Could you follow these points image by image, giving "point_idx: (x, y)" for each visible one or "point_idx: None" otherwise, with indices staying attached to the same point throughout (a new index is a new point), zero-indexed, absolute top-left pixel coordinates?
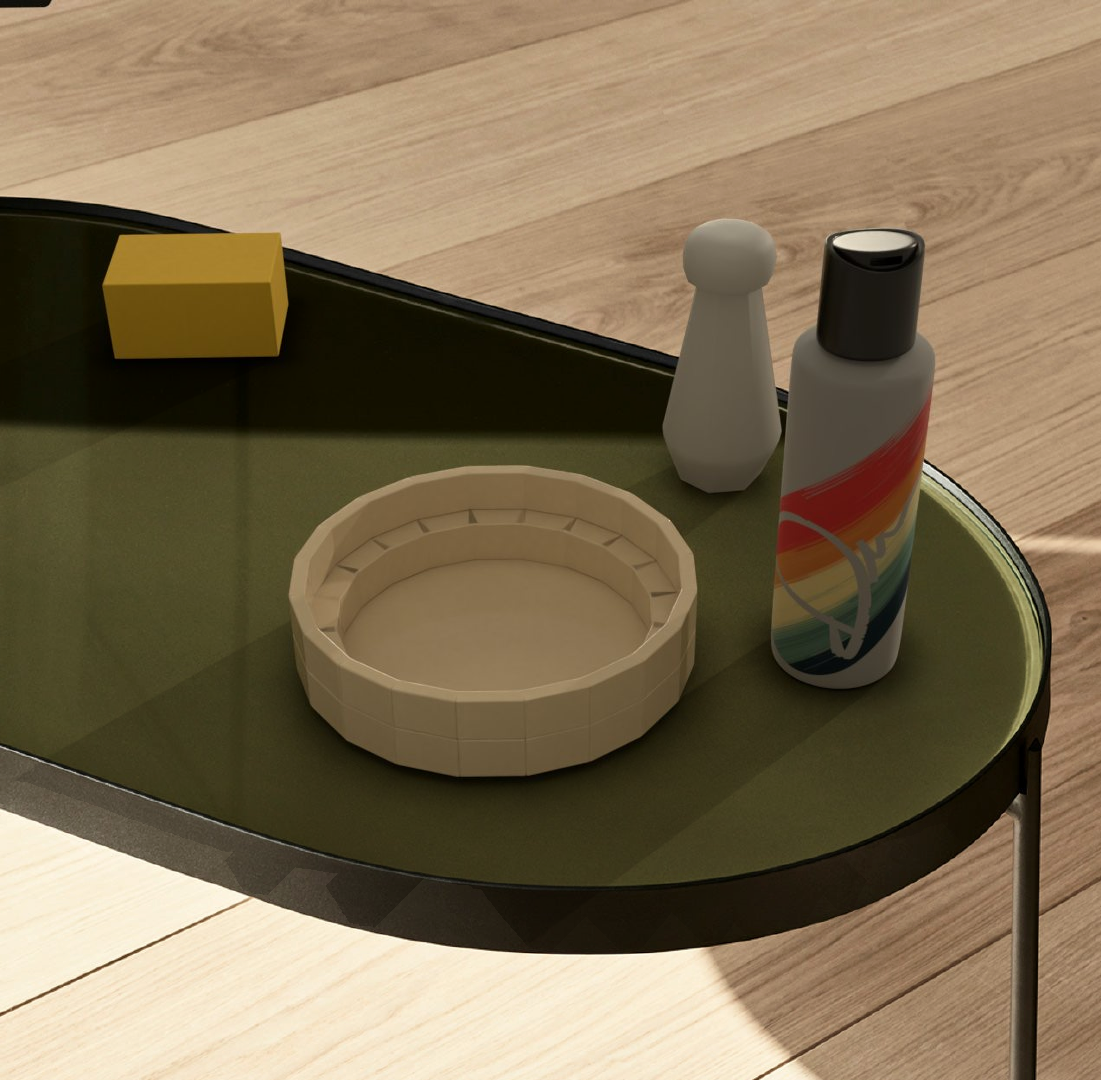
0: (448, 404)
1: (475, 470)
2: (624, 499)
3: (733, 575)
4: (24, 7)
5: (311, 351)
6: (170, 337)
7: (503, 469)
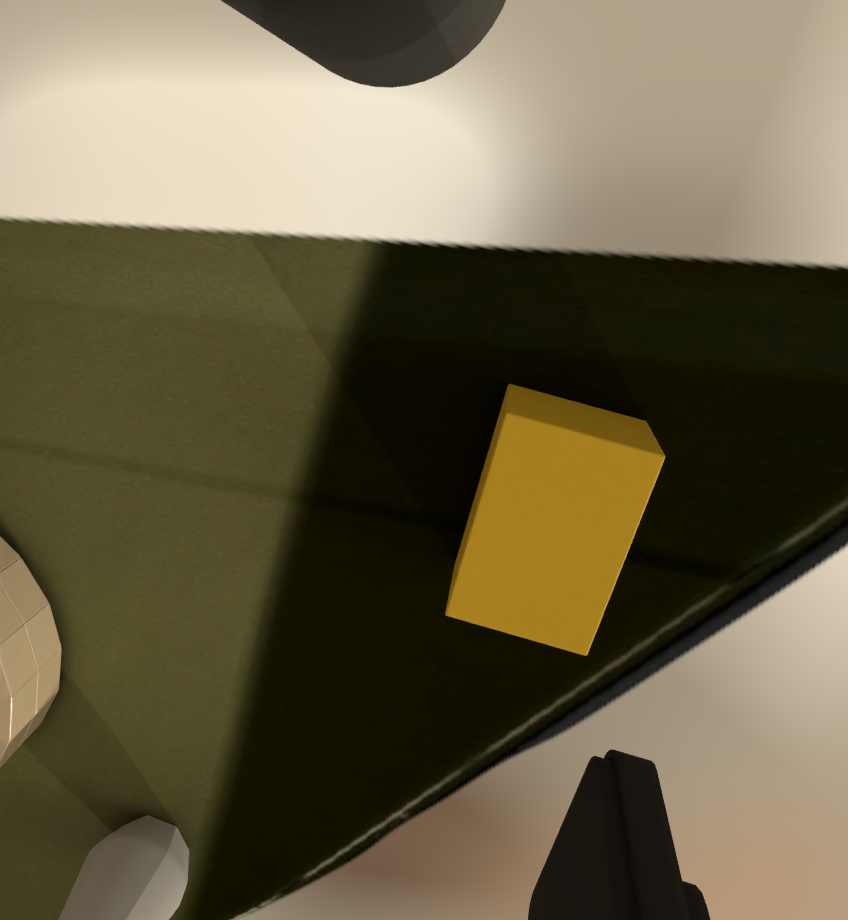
0: (311, 691)
1: (4, 701)
2: None
3: (13, 798)
4: None
5: None
6: (486, 462)
7: (3, 723)
